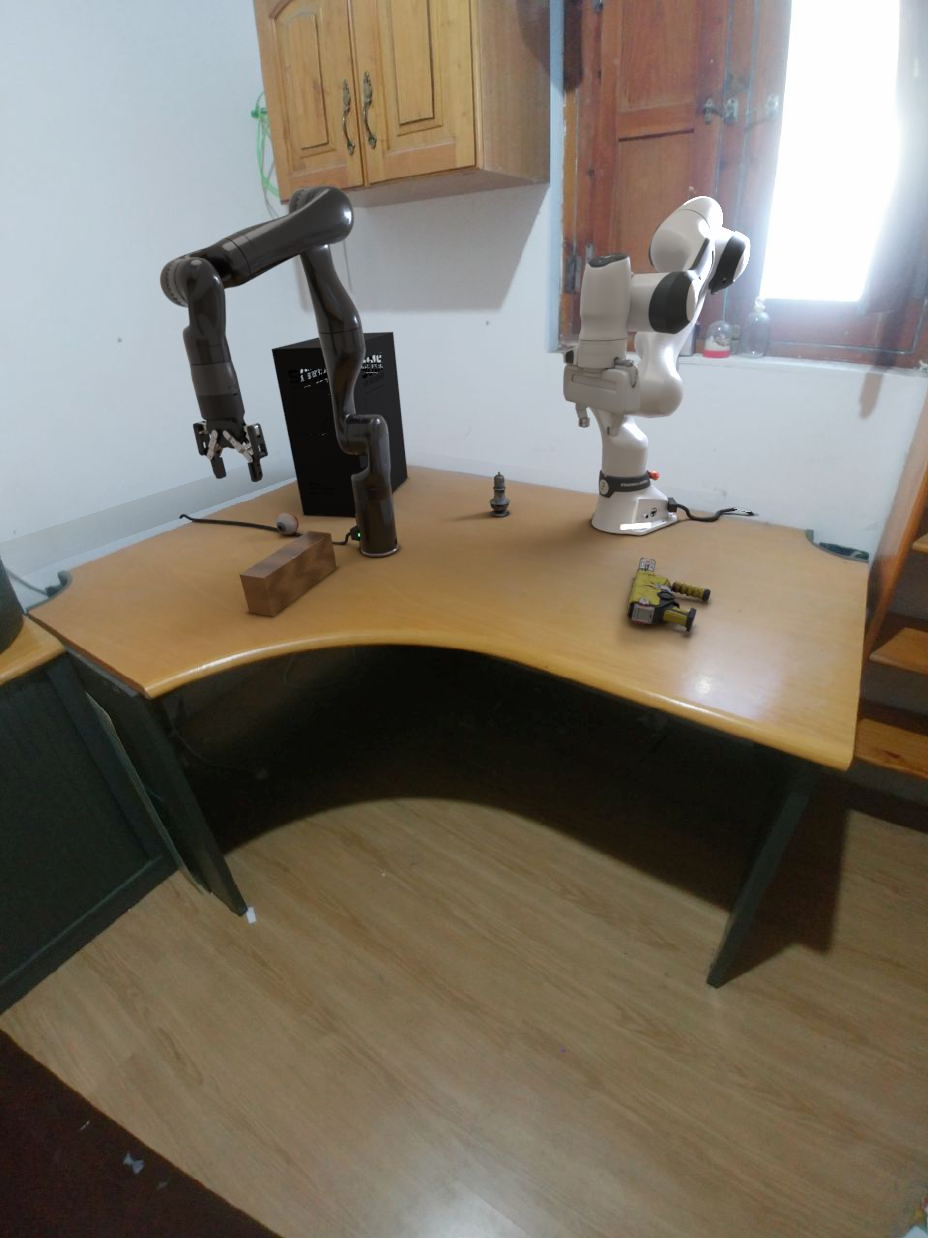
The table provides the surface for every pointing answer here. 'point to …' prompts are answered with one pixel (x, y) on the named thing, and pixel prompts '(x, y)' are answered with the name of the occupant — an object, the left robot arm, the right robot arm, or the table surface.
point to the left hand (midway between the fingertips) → (239, 479)
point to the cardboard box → (312, 416)
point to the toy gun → (660, 598)
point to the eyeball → (287, 523)
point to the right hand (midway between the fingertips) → (597, 431)
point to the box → (288, 573)
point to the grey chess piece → (499, 497)
